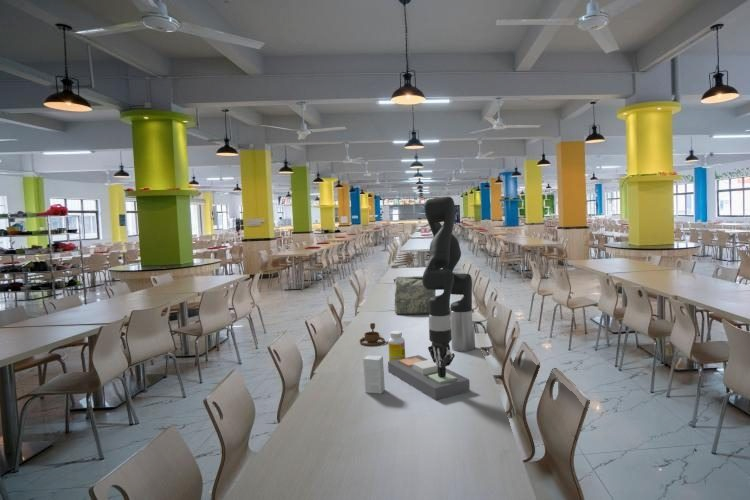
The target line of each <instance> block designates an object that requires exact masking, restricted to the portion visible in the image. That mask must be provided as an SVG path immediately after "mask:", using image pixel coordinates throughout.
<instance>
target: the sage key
mask: <svg viewBox="0 0 750 500" xmlns="http://www.w3.org/2000/svg"><path fill="white" fill-rule="evenodd" d="M428 379H430V380H432V381H434V382H436V383H438V384H442V383H446V382H450V381H454V380H456V377H454V376H452V375H450V374H448V373H446V376H445V377H442V378H441V377H439V376H438V373H437V374H432V375H428Z"/></svg>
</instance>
